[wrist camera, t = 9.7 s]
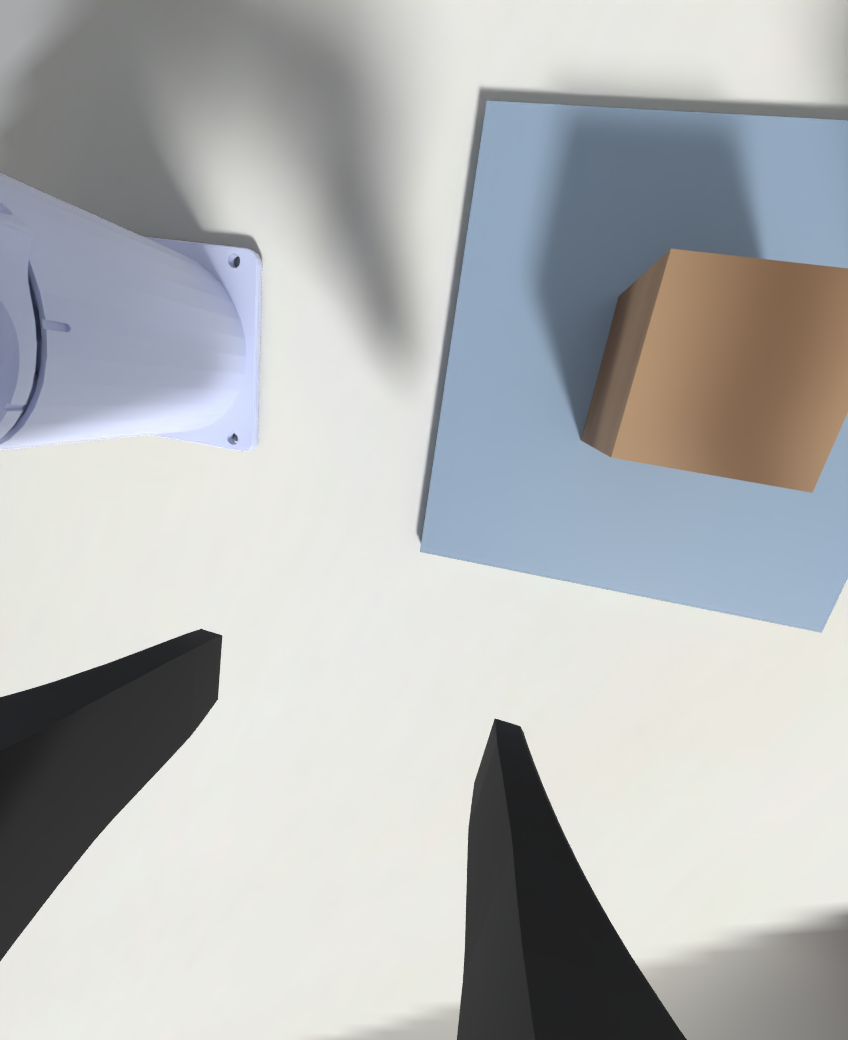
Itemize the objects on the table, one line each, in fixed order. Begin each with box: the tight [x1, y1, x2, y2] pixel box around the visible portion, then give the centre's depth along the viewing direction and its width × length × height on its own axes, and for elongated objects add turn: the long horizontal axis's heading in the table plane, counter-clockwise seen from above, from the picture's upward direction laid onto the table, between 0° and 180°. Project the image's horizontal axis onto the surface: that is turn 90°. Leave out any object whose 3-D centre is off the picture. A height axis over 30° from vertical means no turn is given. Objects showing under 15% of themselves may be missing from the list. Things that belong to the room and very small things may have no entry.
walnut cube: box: [581, 249, 848, 493], centre depth 13 cm, size 5×5×5 cm
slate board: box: [420, 101, 848, 633], centre depth 16 cm, size 16×16×1 cm
